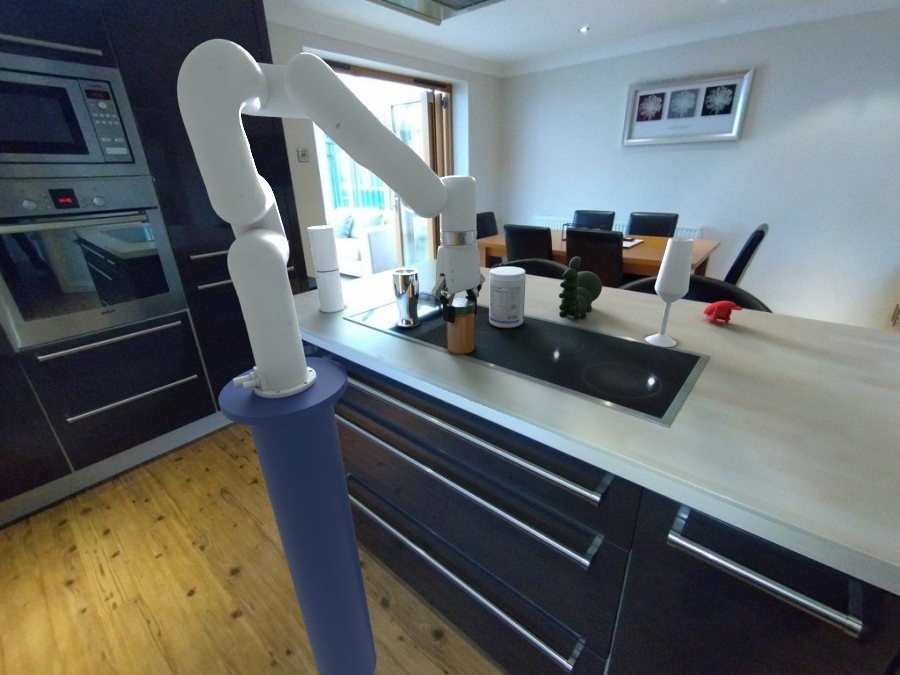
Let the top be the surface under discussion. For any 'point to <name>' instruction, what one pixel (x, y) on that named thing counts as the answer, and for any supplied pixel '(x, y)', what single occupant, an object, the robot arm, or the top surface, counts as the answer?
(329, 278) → the cylindrical container
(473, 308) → the lid
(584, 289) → the toy figurine
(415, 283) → the beer glass
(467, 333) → the jar
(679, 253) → the champagne flute
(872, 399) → the top surface
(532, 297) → the top surface
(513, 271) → the supplement tub
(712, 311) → the red animal figurine
